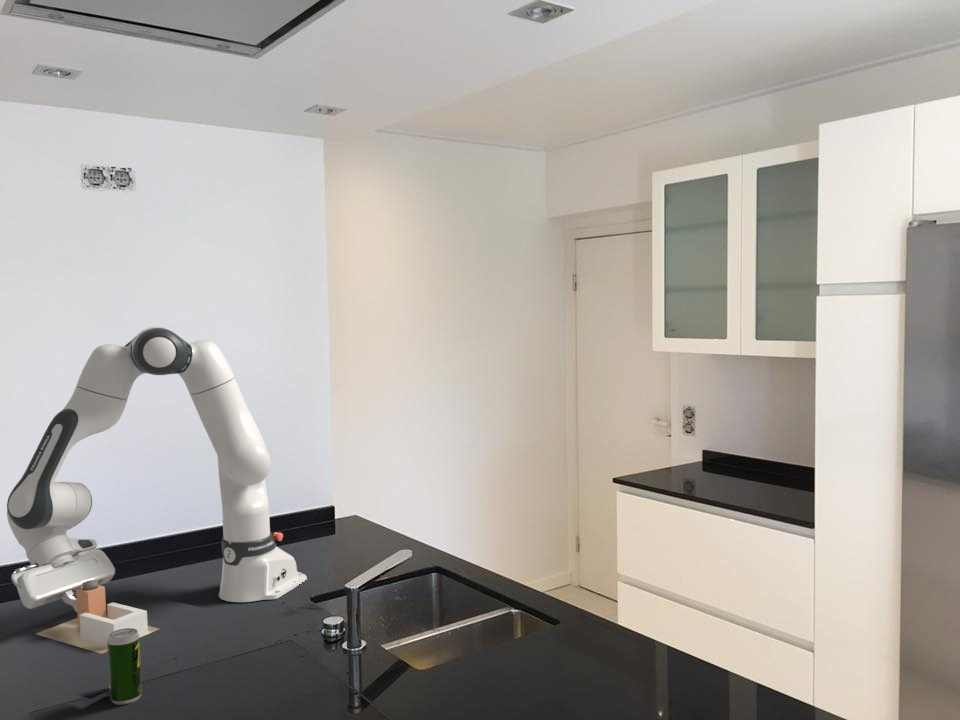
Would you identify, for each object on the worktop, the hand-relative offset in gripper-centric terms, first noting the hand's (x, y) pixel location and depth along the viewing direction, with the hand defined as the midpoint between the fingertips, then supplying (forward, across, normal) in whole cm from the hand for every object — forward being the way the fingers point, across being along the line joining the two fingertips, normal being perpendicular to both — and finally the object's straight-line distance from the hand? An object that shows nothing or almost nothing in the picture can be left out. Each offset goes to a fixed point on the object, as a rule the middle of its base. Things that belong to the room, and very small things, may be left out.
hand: (84, 608), depth 176 cm
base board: (+7, 0, +1) cm, 7 cm away
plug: (+5, 0, +1) cm, 5 cm away
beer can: (+28, -15, -19) cm, 37 cm away
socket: (+10, 0, -4) cm, 10 cm away
